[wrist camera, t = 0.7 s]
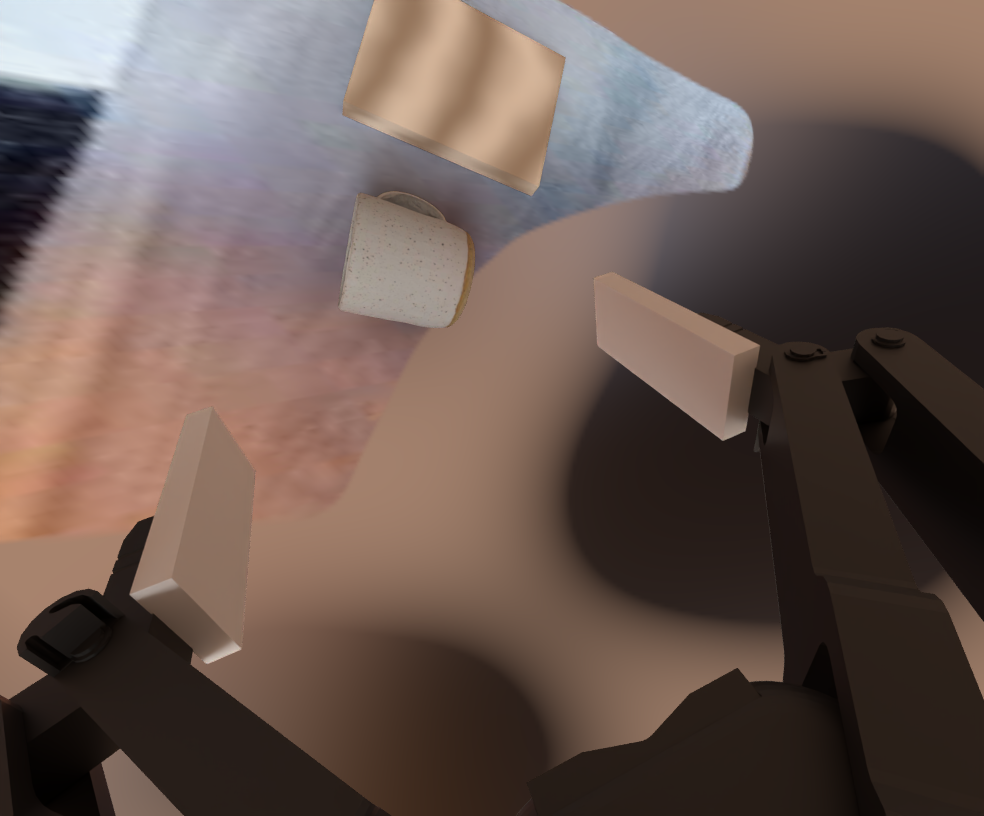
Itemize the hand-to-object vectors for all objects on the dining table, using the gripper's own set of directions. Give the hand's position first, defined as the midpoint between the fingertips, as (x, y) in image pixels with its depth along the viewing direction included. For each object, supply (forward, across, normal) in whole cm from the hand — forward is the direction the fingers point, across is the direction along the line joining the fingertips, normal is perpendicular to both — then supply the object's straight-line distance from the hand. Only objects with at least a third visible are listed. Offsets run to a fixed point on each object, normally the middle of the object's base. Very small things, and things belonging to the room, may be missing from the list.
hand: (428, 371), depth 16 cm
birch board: (+31, +13, +6) cm, 34 cm away
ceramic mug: (+22, +2, -3) cm, 23 cm away
